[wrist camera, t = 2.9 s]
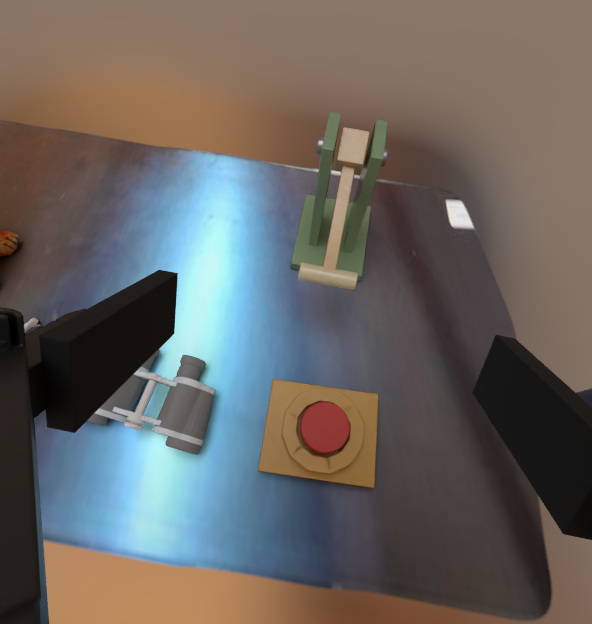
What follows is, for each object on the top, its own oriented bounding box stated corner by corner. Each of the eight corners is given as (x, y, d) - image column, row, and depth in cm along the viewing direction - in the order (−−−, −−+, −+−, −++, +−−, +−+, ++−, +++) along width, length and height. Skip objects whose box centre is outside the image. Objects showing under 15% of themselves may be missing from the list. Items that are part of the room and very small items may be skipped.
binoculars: (79, 418, 34) (59, 413, 31) (119, 340, 37) (104, 328, 34) (201, 455, 34) (193, 454, 30) (231, 373, 37) (226, 363, 33)
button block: (373, 398, 36) (383, 390, 33) (368, 487, 33) (380, 488, 29) (273, 384, 36) (272, 374, 33) (259, 471, 33) (256, 470, 30)
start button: (347, 408, 32) (351, 405, 31) (344, 457, 31) (347, 456, 29) (302, 402, 32) (304, 398, 31) (296, 450, 31) (297, 448, 29)
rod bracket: (359, 281, 42) (399, 189, 28) (290, 268, 42) (297, 170, 28) (368, 212, 46) (407, 102, 32) (305, 200, 46) (317, 86, 32)
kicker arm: (352, 291, 33) (355, 289, 31) (298, 280, 33) (297, 278, 31) (380, 146, 33) (386, 134, 31) (325, 137, 33) (327, 124, 31)
